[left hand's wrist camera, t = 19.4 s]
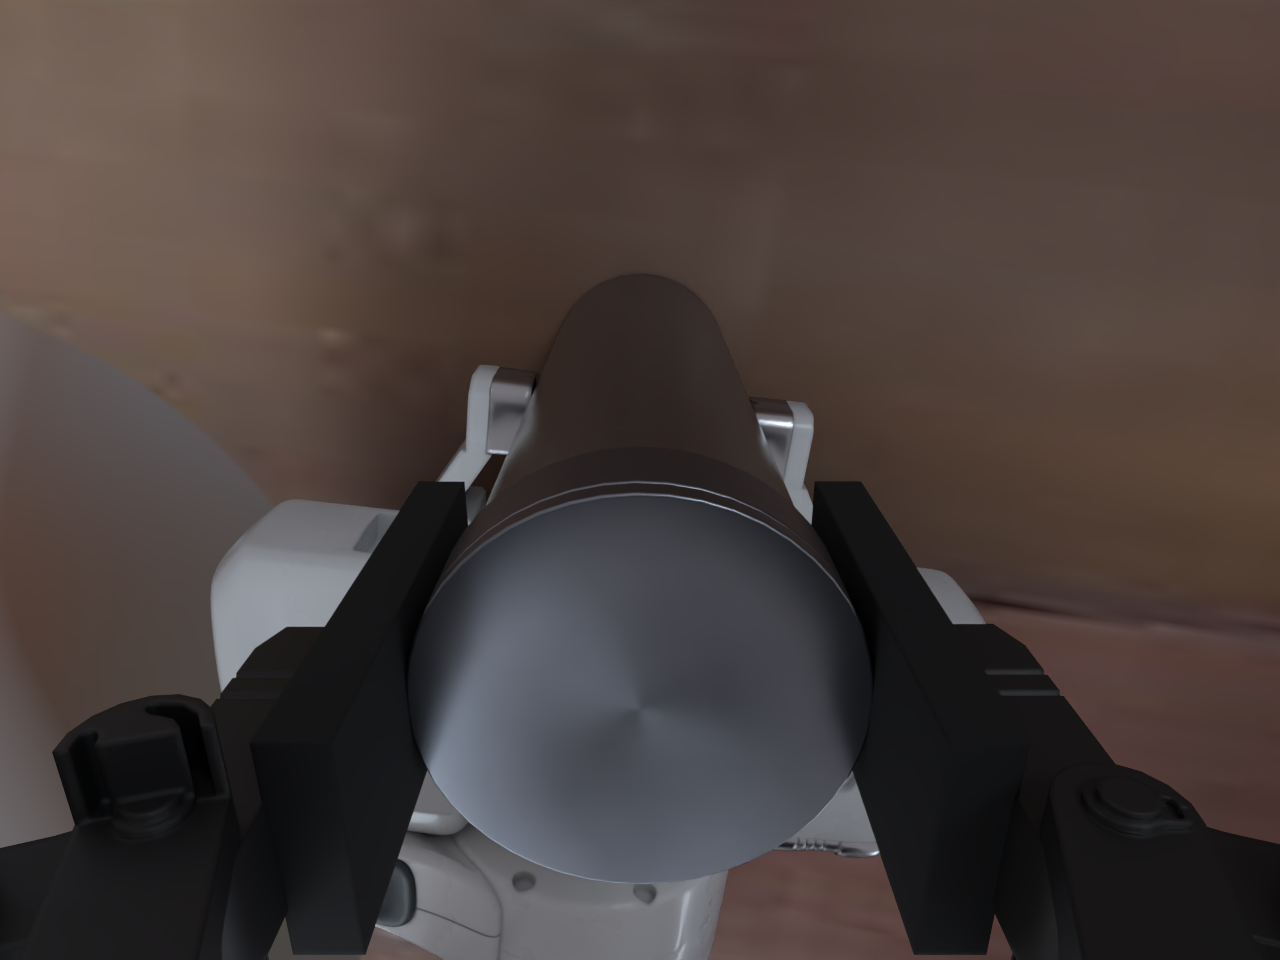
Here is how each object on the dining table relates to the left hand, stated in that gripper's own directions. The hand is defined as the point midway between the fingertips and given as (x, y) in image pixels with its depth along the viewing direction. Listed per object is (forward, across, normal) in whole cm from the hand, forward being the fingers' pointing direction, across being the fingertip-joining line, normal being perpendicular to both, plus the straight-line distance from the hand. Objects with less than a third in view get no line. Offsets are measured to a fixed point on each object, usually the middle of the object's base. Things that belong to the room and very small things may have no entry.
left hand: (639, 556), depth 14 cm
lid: (-4, 0, 0) cm, 4 cm away
